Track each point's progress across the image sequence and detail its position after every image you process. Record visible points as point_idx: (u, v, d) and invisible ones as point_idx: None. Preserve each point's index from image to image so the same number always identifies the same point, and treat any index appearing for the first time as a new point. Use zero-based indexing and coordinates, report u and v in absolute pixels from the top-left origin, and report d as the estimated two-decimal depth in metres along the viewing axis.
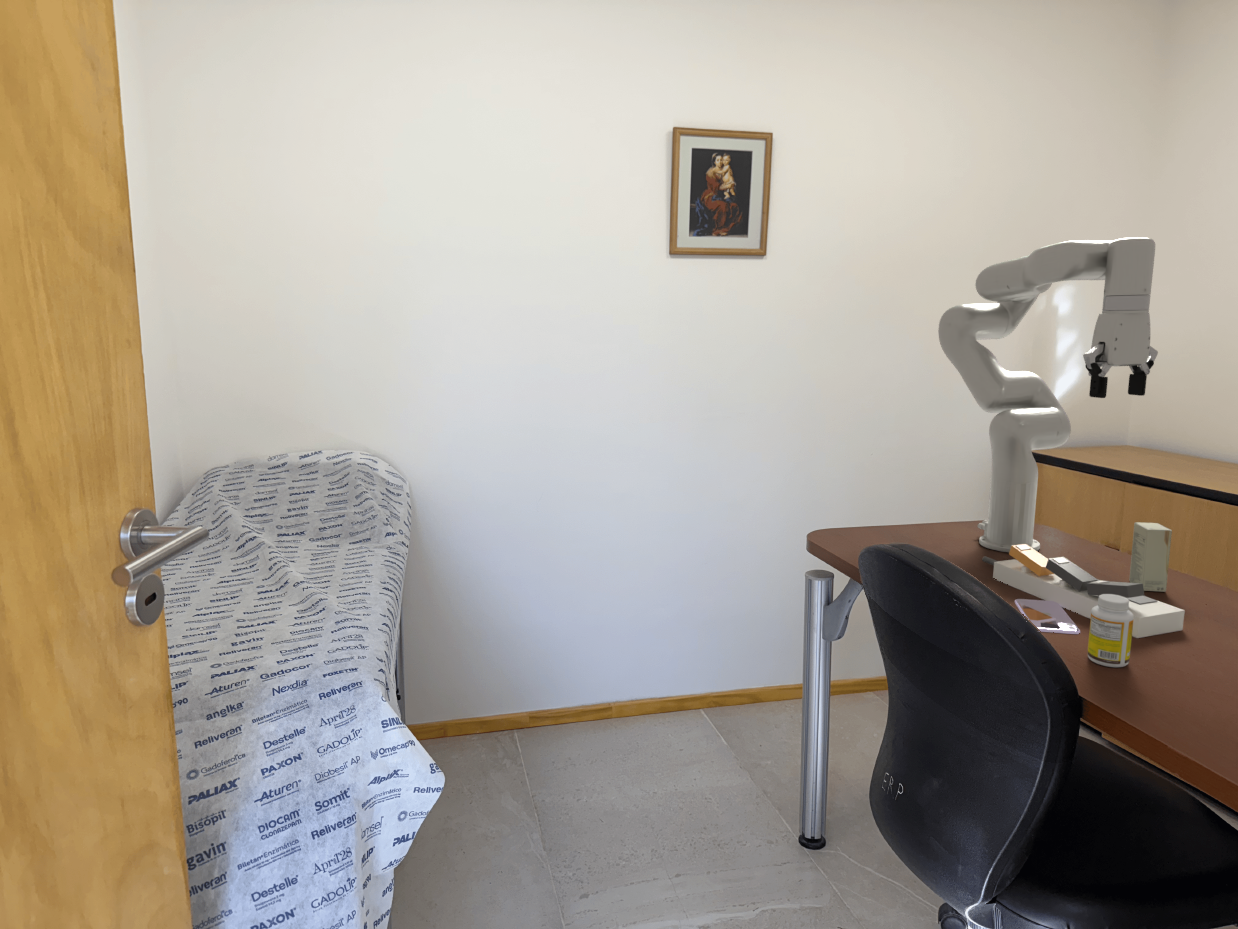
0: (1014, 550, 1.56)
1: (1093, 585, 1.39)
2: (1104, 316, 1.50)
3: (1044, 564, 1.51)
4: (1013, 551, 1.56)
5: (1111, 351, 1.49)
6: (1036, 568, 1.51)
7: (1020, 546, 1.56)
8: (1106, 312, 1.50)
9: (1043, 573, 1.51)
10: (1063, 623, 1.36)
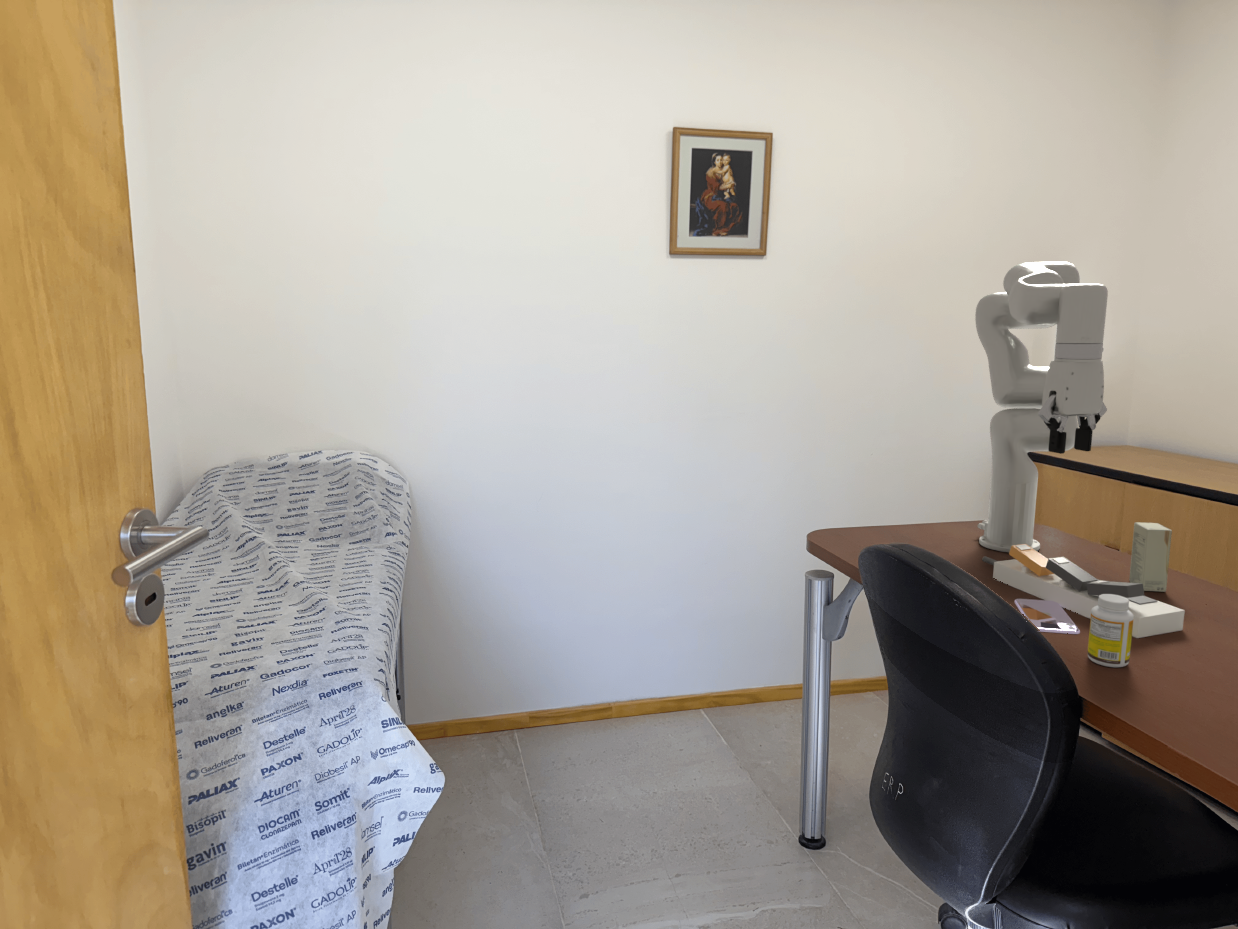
0: (1014, 550, 1.56)
1: (1093, 585, 1.39)
2: (1056, 364, 1.44)
3: (1044, 564, 1.51)
4: (1013, 551, 1.56)
5: (1062, 401, 1.43)
6: (1036, 568, 1.51)
7: (1020, 546, 1.56)
8: (1058, 360, 1.45)
9: (1043, 573, 1.51)
10: (1063, 623, 1.36)
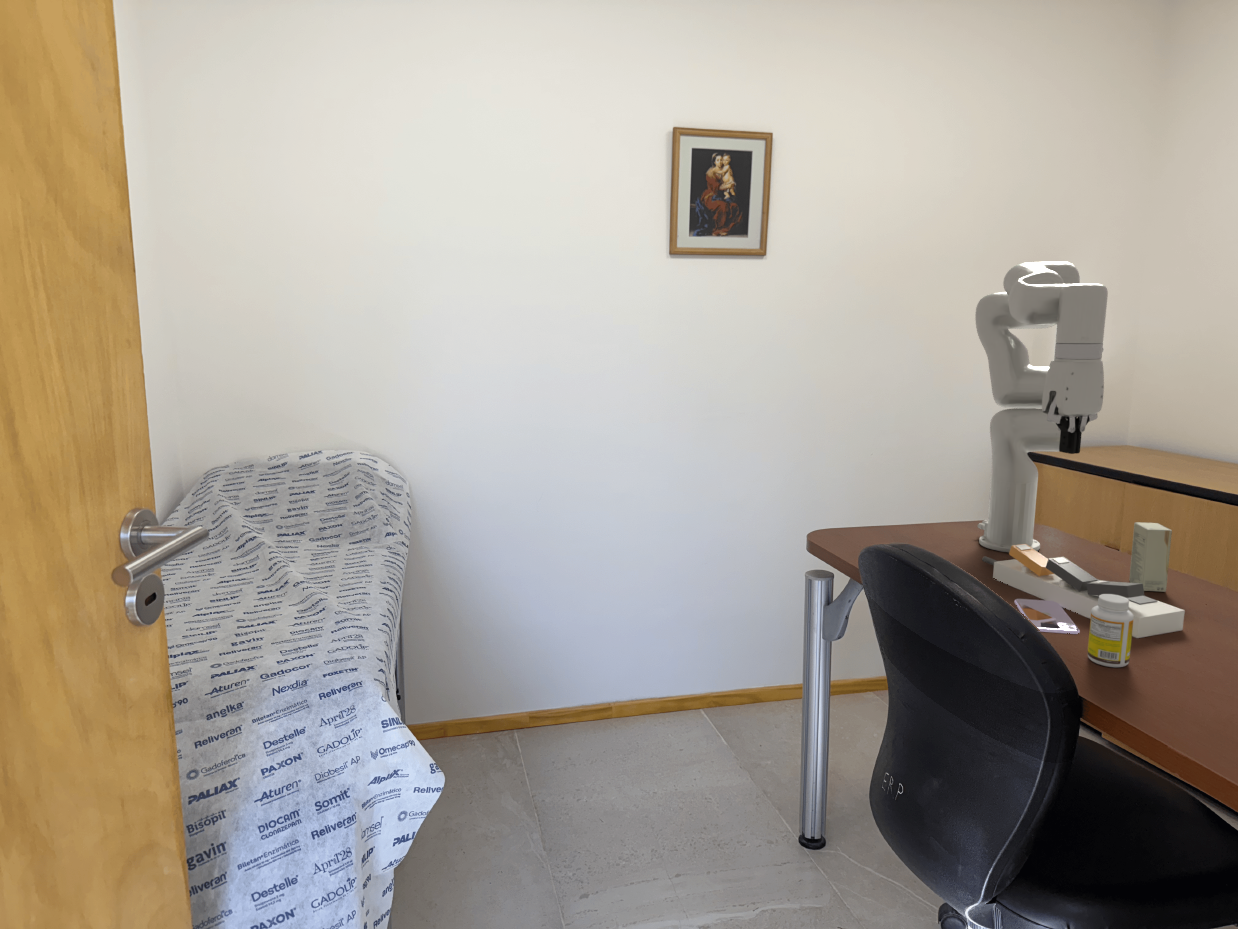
0: (1014, 550, 1.56)
1: (1093, 585, 1.39)
2: (1056, 364, 1.44)
3: (1044, 564, 1.51)
4: (1013, 551, 1.56)
5: (1062, 401, 1.43)
6: (1036, 568, 1.51)
7: (1020, 546, 1.56)
8: (1058, 360, 1.45)
9: (1043, 573, 1.51)
10: (1063, 623, 1.37)
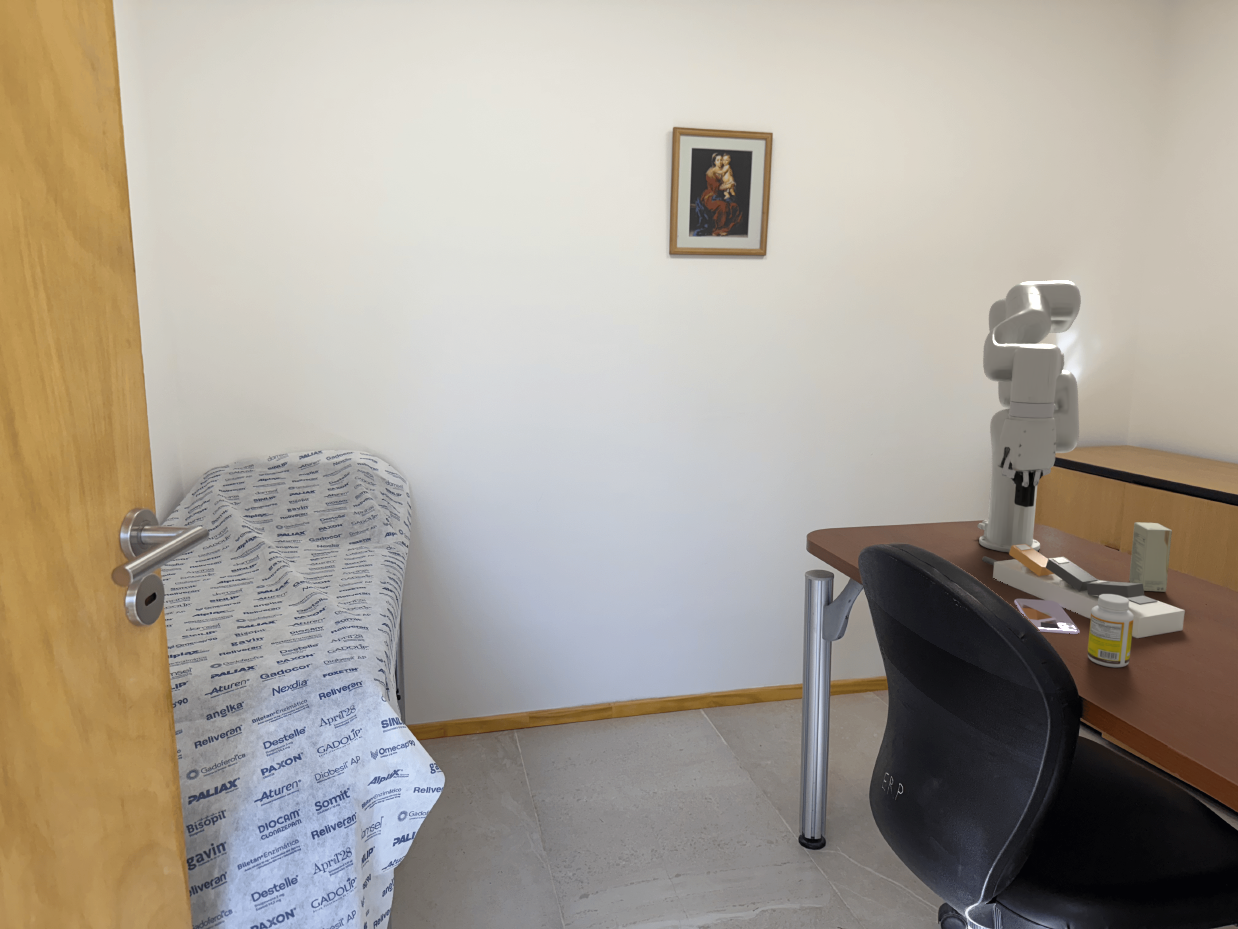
0: (1014, 550, 1.56)
1: (1093, 585, 1.39)
2: (1009, 422, 1.51)
3: (1044, 564, 1.51)
4: (1013, 551, 1.56)
5: (1015, 457, 1.50)
6: (1036, 568, 1.51)
7: (1020, 546, 1.56)
8: (1011, 418, 1.52)
9: (1043, 573, 1.51)
10: (1062, 623, 1.37)
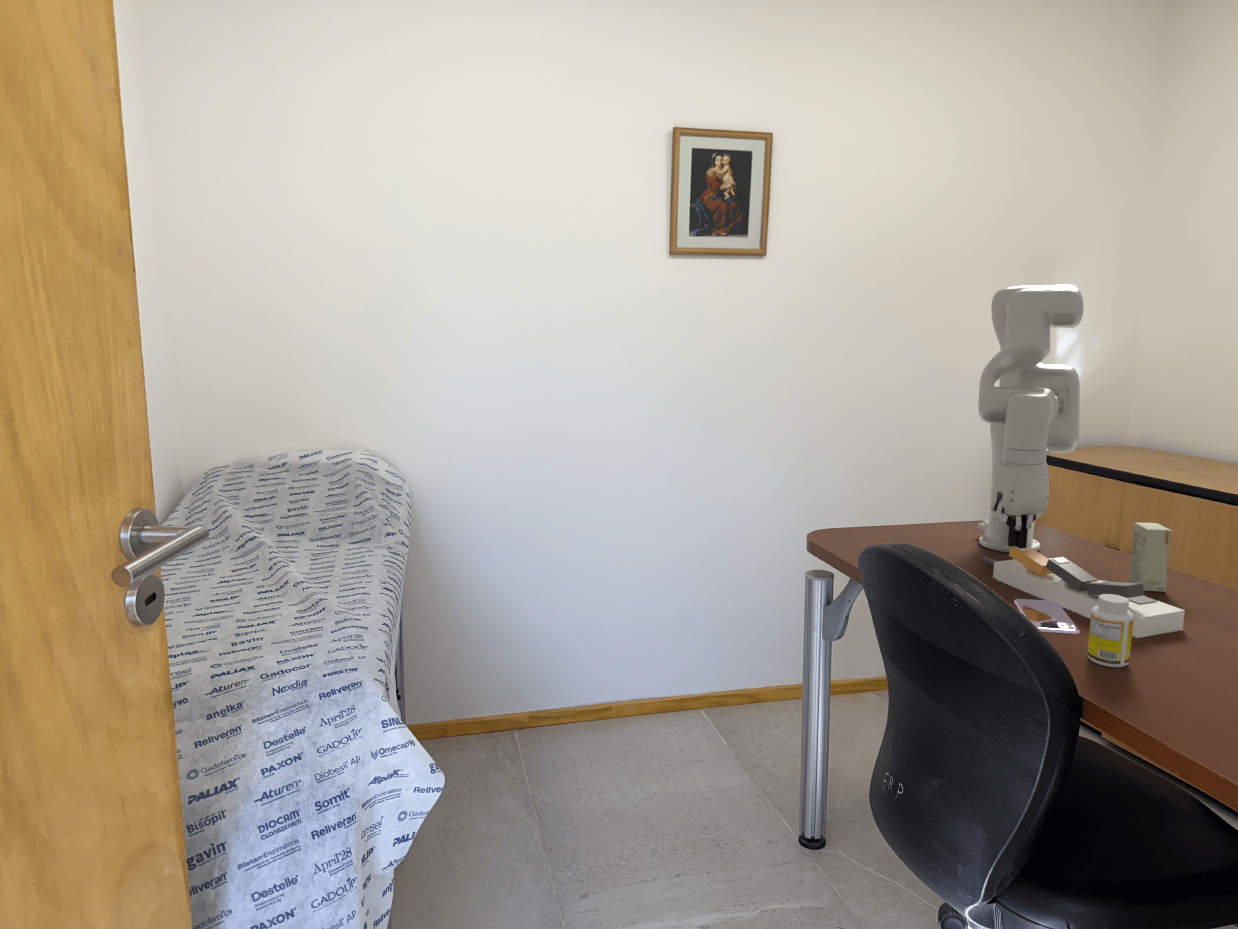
0: (1014, 550, 1.56)
1: (1093, 585, 1.39)
2: (1002, 467, 1.53)
3: (1044, 563, 1.51)
4: (1012, 552, 1.57)
5: (1008, 503, 1.53)
6: (1036, 567, 1.51)
7: None
8: (1005, 463, 1.54)
9: (1044, 572, 1.51)
10: (1062, 623, 1.37)
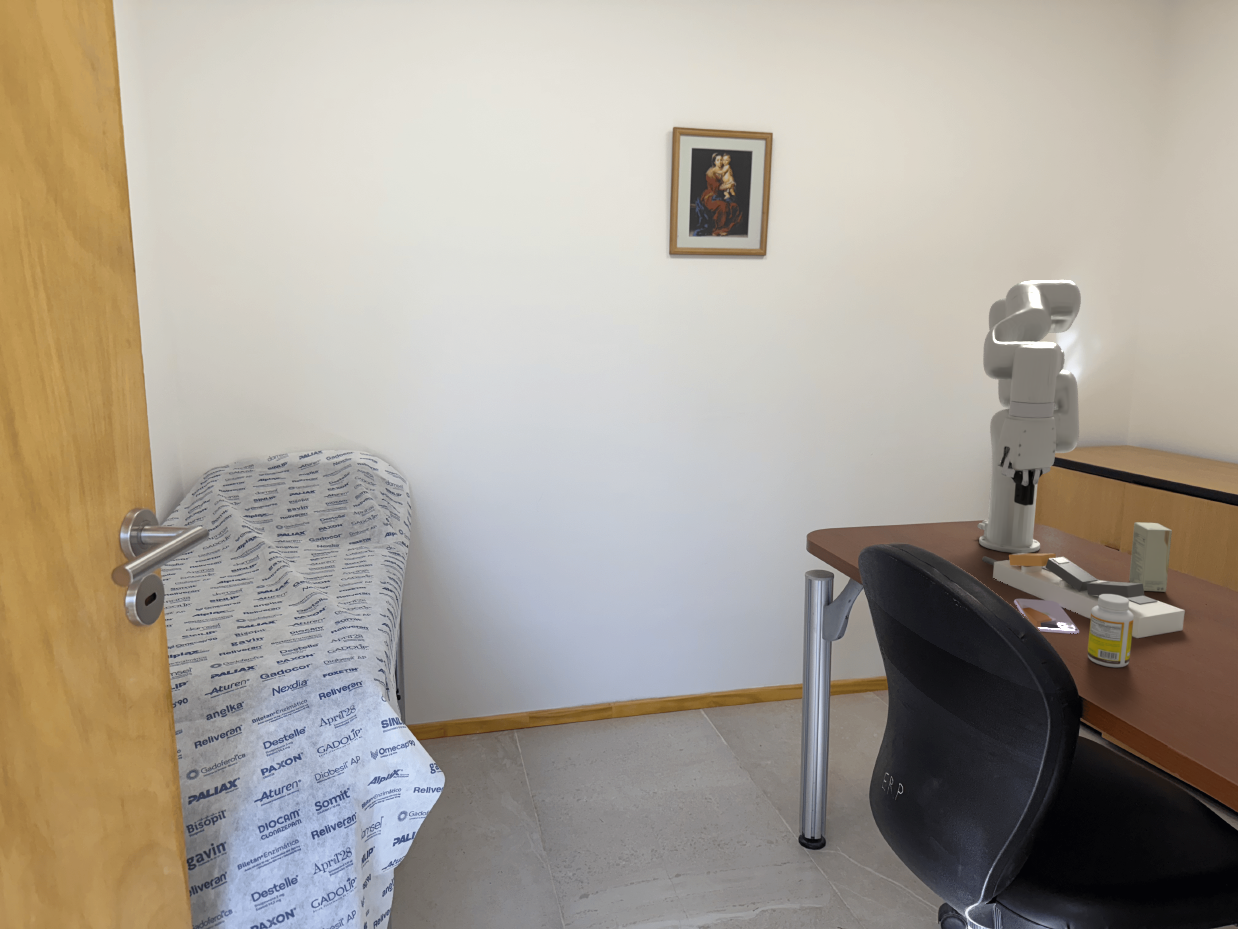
0: (1013, 557, 1.57)
1: (1093, 585, 1.39)
2: (1009, 421, 1.51)
3: (1042, 554, 1.51)
4: (1012, 559, 1.57)
5: (1015, 457, 1.50)
6: (1037, 560, 1.51)
7: (1017, 553, 1.57)
8: (1011, 417, 1.52)
9: (1045, 563, 1.50)
10: (1062, 623, 1.37)
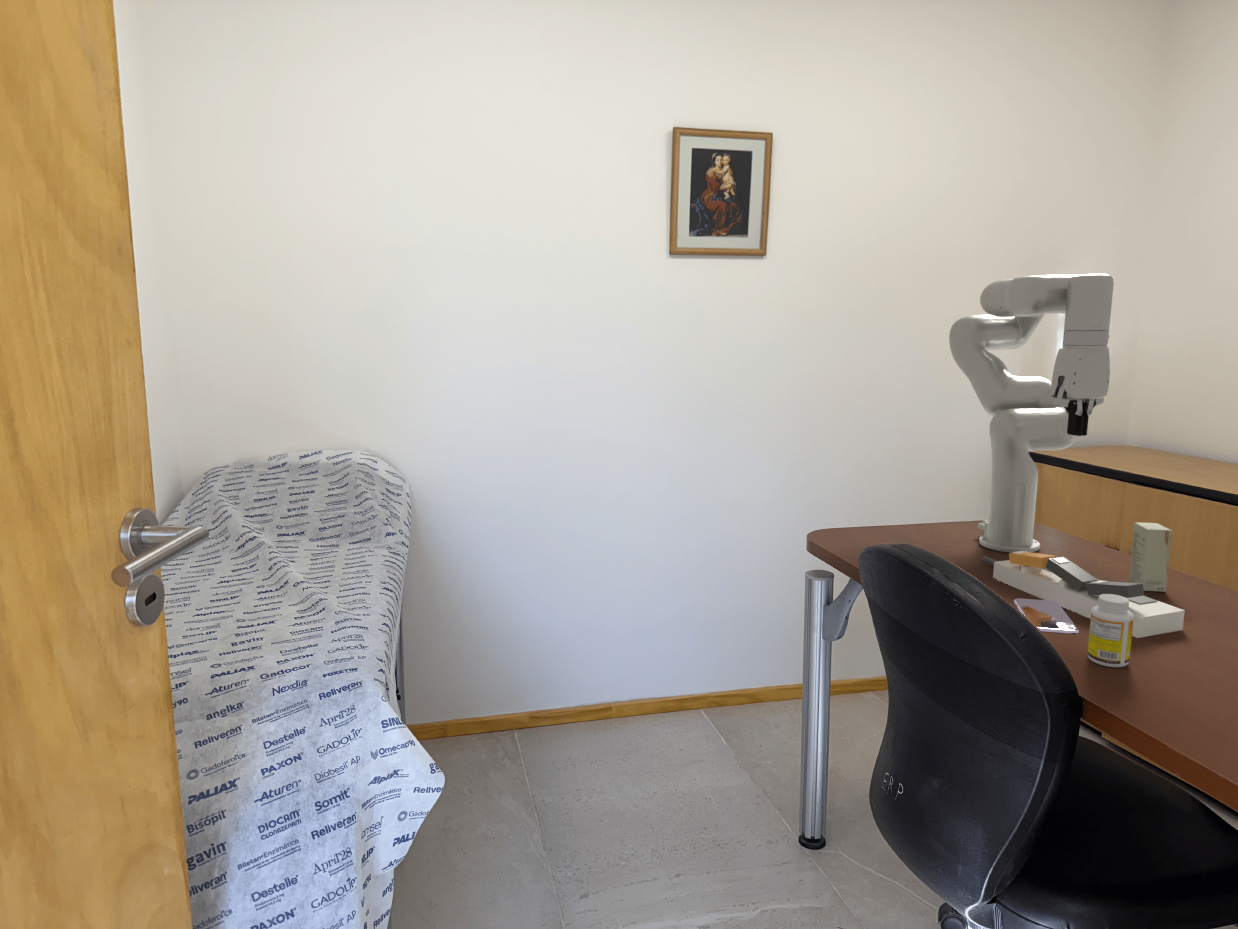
0: (1013, 555, 1.57)
1: (1093, 585, 1.39)
2: (1064, 350, 1.52)
3: (1043, 556, 1.51)
4: (1012, 558, 1.57)
5: (1070, 385, 1.51)
6: (1037, 562, 1.51)
7: (1017, 552, 1.57)
8: (1066, 346, 1.53)
9: (1045, 565, 1.50)
10: (1062, 623, 1.37)
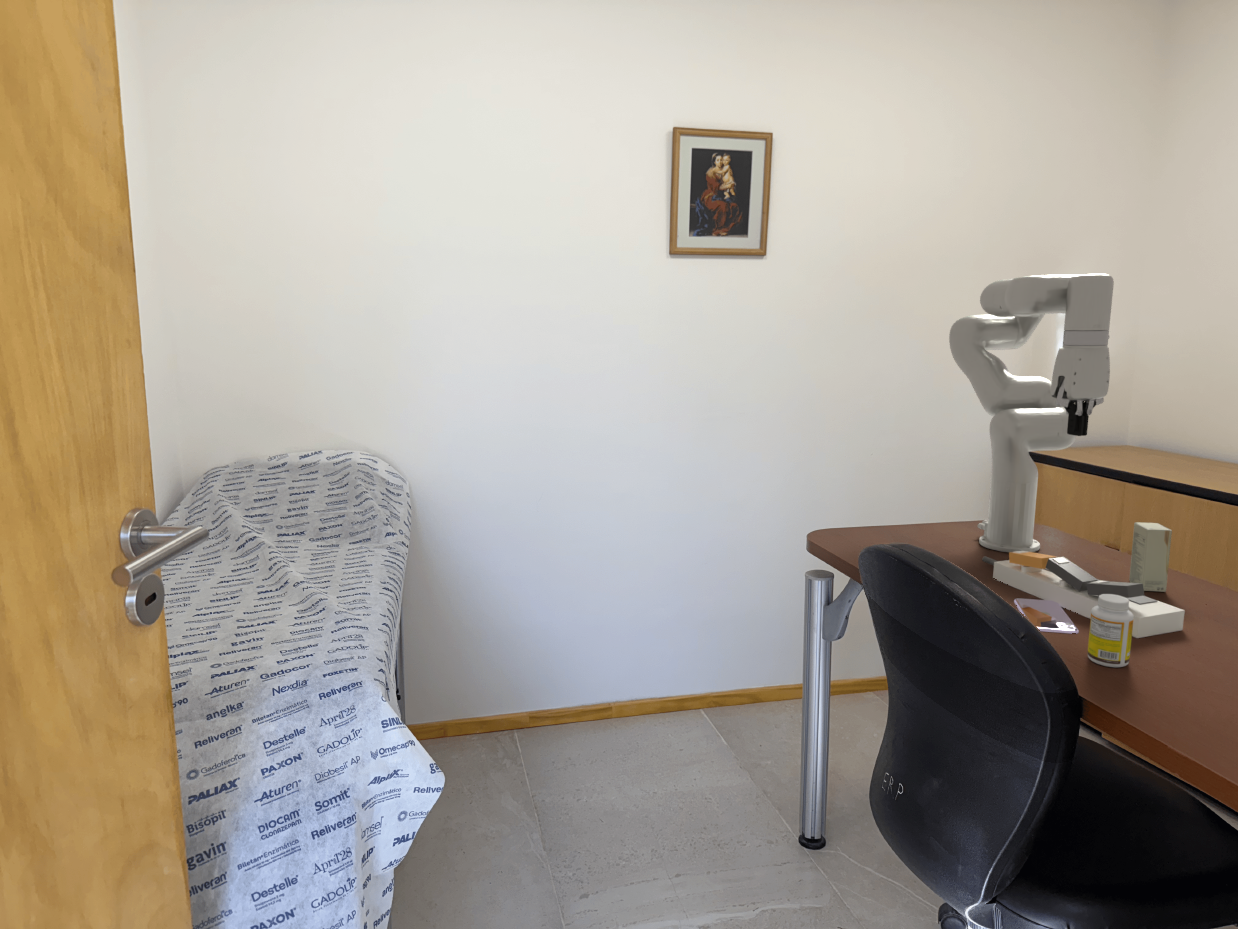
0: (1013, 555, 1.57)
1: (1093, 585, 1.39)
2: (1064, 350, 1.52)
3: (1043, 557, 1.51)
4: (1012, 557, 1.57)
5: (1070, 385, 1.51)
6: (1037, 562, 1.51)
7: (1017, 551, 1.57)
8: (1066, 346, 1.53)
9: (1045, 565, 1.50)
10: (1062, 623, 1.37)
